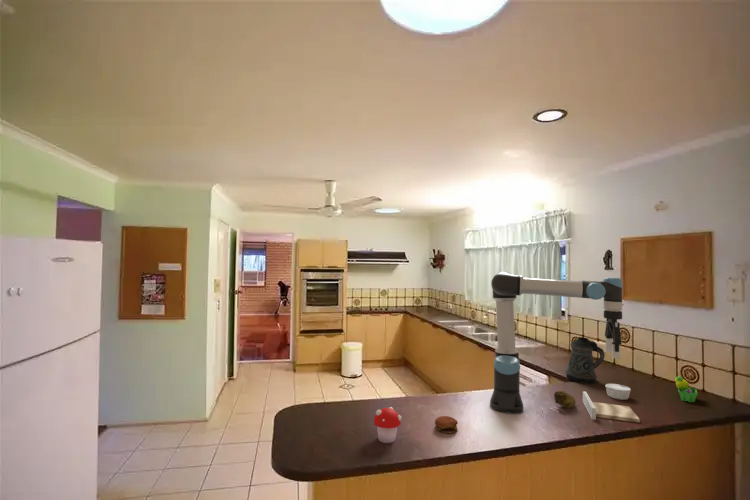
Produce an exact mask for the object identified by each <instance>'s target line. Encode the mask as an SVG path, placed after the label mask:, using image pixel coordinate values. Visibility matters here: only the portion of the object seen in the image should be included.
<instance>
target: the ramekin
mask: <svg viewBox="0 0 750 500" xmlns="http://www.w3.org/2000/svg"><path fill="white" fill-rule="evenodd" d="M604 387H605V389H606V394H607V396H608V397H610V398H612V399H614V400H623V401H625V400H628V399H629V398H630V394H631V391H632V389H631V388H630V387H629V386H626V385H623V384H618V383H606V384H605V385H604Z"/></svg>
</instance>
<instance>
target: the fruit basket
mask: <svg viewBox="0 0 750 500" xmlns="http://www.w3.org/2000/svg"><path fill="white" fill-rule="evenodd" d="M674 380H675V386H676V388H677V390H678V393H679V397H680V400H681V402H682V401H683V402H686V401H688V403H692V402H694V403H695V402H696V398H697V396H698V390H697V388H695V387H690V386H689V385H690V383H689V381H687V380H685V379H684V378H683V377H682V376H676V378H675V379H674Z"/></svg>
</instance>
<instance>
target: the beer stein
mask: <svg viewBox="0 0 750 500" xmlns="http://www.w3.org/2000/svg"><path fill="white" fill-rule="evenodd" d="M570 348H571V352H570V356H569V362H568V366H567V369H566V370H565V376H566V379H567V380H569V381H571V382H575V383H578V384H595V383H596V382H597V379H598V378H597V374H596V371H595V369H596V368H598V367H600V366H601V364H602V363H603V362H604V360H605V351H604V349H603V348H601V346H598V344H597V343H596V342H595V341H593V340H590V339H589V338H588V337H579V336H578V338H577V339H576V340H574V341H572V342H571V343H570ZM593 352H597V353H598V354H599V358H598V359H597V361H595V362H594V356H593Z"/></svg>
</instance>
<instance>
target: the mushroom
mask: <svg viewBox="0 0 750 500" xmlns="http://www.w3.org/2000/svg"><path fill="white" fill-rule="evenodd" d="M401 421H402V415H400V414H399V413H398V412H397V411H396V410H395V409H394V408H393V407H392V406H389V407H383V408H381V409H377V410H376V411H375V415H374V417H373V425H374V426H376V427H377V428H376V430H377V432H376V433H377V439H378V441H379V442H381V443H384V444H392V443H394V442H395V441H396V439H397V431H398V427H400V426H401V425H402V423H401Z"/></svg>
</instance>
